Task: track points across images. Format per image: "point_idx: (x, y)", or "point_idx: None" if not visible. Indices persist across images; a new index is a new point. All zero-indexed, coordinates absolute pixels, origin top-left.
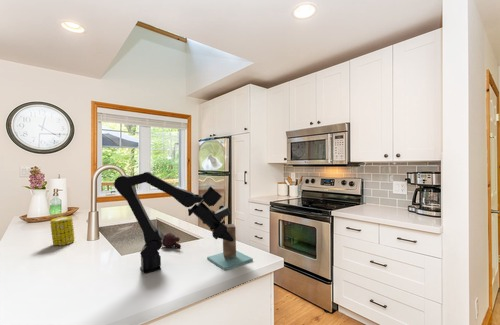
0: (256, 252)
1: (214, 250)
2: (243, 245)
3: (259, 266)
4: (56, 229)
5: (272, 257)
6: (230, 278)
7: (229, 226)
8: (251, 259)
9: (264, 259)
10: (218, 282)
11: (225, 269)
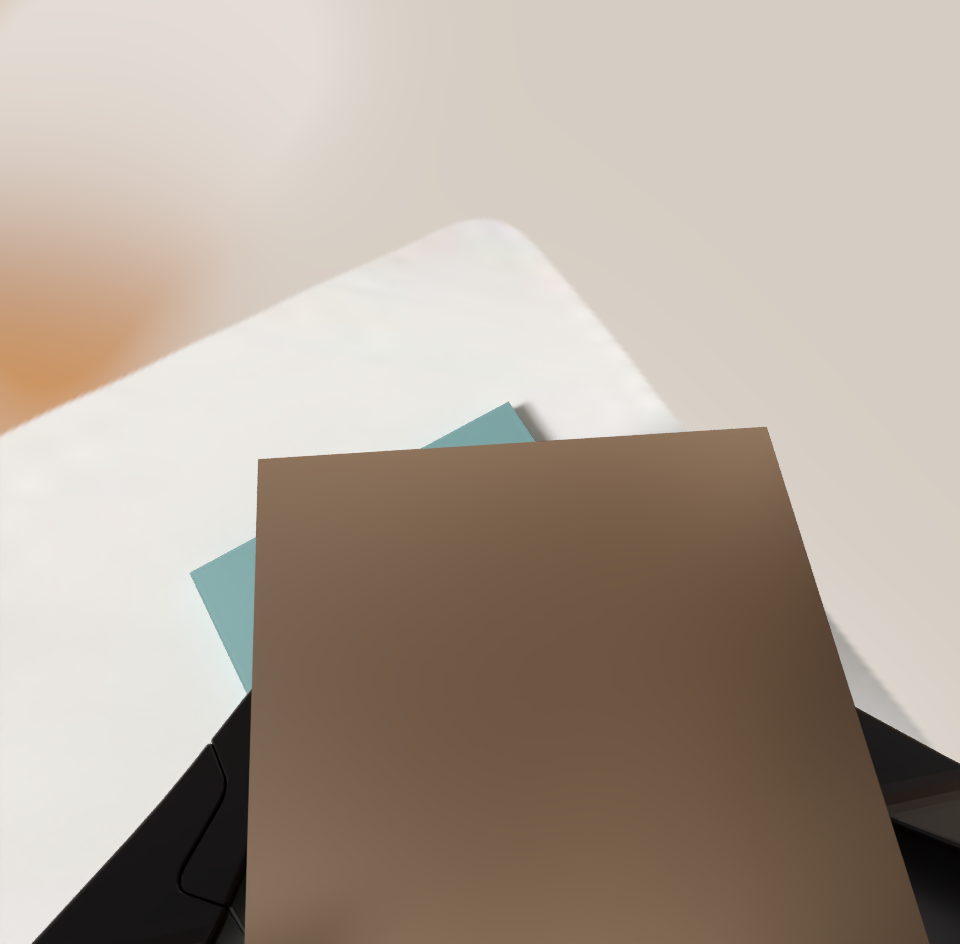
0: (301, 347)
1: (50, 876)
2: (13, 448)
3: (620, 377)
4: None
5: (453, 251)
6: (833, 625)
7: (707, 692)
8: (514, 415)
9: (485, 315)
10: (909, 731)
11: None
